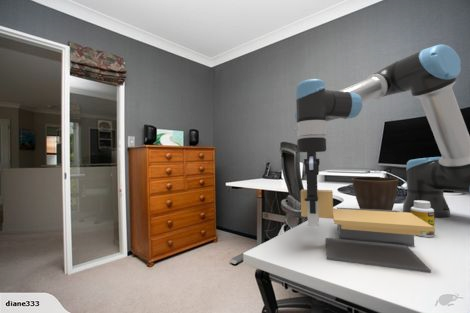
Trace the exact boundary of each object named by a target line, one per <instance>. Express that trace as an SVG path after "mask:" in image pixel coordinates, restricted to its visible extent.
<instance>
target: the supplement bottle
mask: <svg viewBox="0 0 470 313" xmlns="http://www.w3.org/2000/svg"><path fill="white" fill-rule="evenodd" d="M430 206H431V205H430V202H429V201H421V200H415V201H414V206H413V207H411V213H412V214H413V215H415V216H417V217H418V218H420V219H422V220H423V221H425V222H426V223H428V224H430V225H431V226H433V227H434V232H431V231H421V235H417V236H419V237H423V238H433V237H434V236H435V234H436V232H435V227H436V226H435V217H434V210H433V209H432V208H430Z"/></svg>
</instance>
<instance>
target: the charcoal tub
mask: <svg viewBox="0 0 470 313" xmlns="http://www.w3.org/2000/svg"><path fill="white" fill-rule="evenodd" d="M336 209H352V210H370V211H388V212H401V211H400V210H393V209H392V210H376V209H360V208H352V207H351V208H350V207H336ZM336 227H337V232H338V237H339V239H344V240H355V241H365V242H375V243H386V244H396V245H407V246H408V247H411V248H412V247H413V248H415V235H409V234H397V233H385V232H373V231H361V230H349V229H342V228H341V225H340V224H336Z"/></svg>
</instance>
